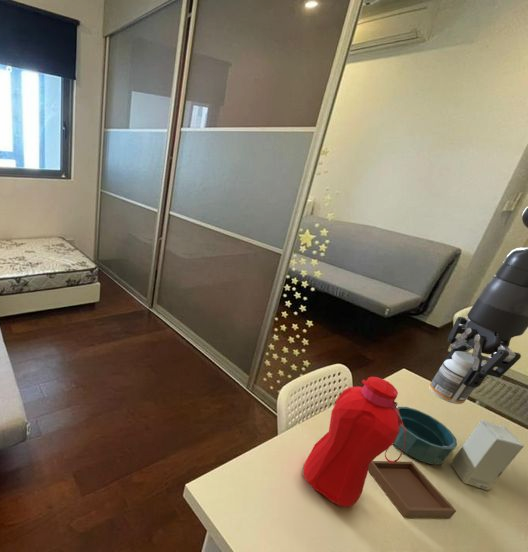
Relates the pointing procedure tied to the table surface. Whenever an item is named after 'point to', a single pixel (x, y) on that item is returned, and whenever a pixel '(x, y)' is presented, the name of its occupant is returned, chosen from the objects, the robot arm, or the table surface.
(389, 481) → the tray
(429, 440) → the bowl
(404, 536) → the table surface
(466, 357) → the pill bottle
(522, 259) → the robot arm
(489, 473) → the box
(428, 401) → the table surface
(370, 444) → the water bottle
